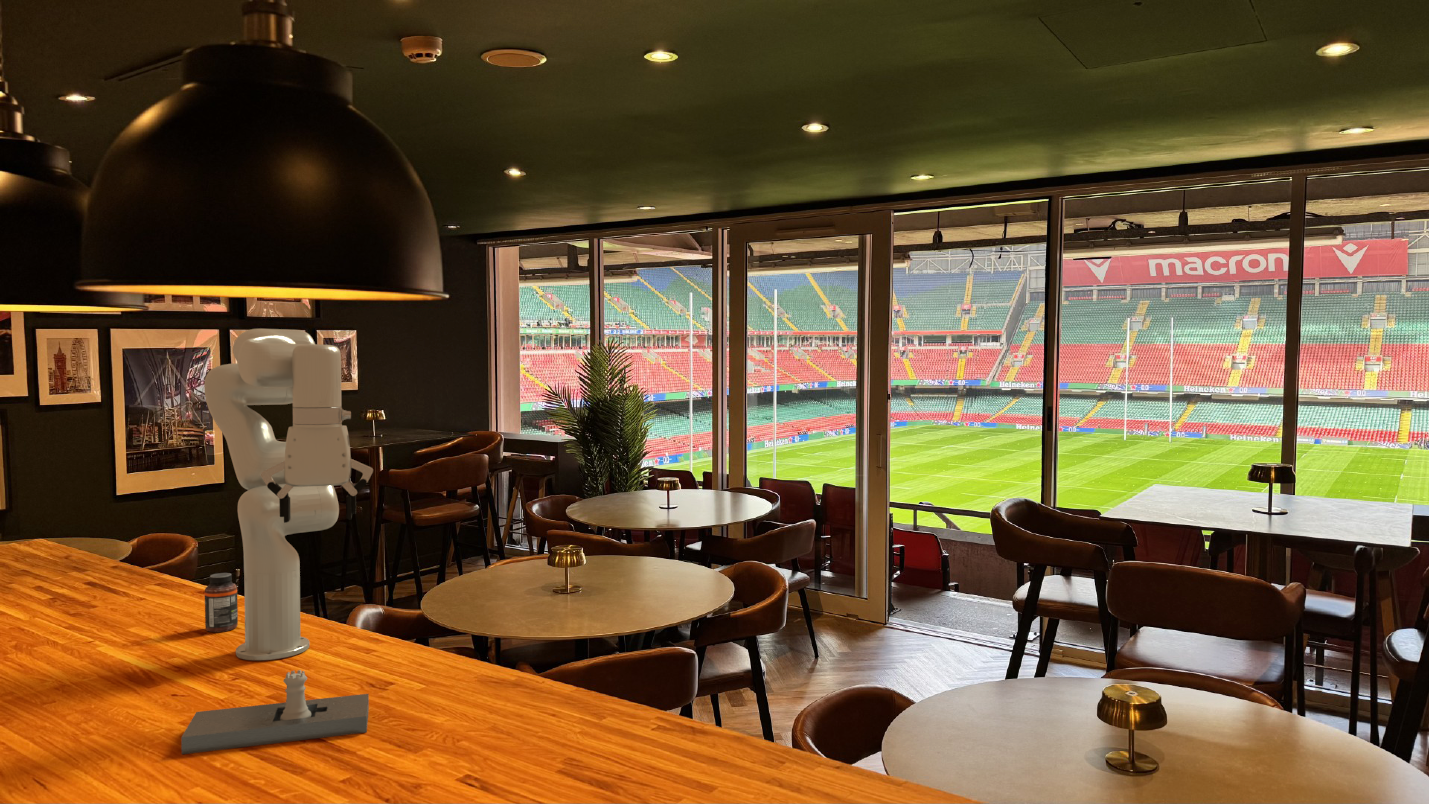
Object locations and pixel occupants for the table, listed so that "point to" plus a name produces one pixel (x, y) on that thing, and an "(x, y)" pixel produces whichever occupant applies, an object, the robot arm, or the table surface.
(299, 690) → the rook chess piece
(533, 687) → the table surface
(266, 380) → the robot arm
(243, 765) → the table surface
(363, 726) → the pocket plate
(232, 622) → the supplement bottle
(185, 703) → the table surface
